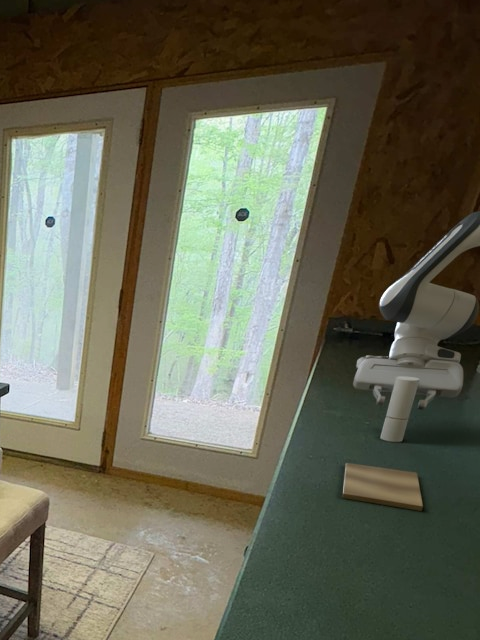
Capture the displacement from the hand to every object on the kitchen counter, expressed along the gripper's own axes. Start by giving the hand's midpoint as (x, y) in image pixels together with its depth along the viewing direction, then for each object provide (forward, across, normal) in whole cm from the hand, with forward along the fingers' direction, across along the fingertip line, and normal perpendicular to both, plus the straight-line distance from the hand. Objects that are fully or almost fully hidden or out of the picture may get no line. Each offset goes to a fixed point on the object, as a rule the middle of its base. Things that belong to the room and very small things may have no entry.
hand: (400, 406), depth 148 cm
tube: (+6, 0, +6) cm, 9 cm away
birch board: (+32, -1, -20) cm, 38 cm away
